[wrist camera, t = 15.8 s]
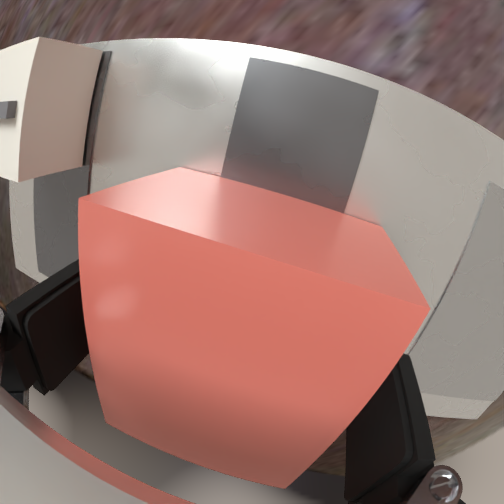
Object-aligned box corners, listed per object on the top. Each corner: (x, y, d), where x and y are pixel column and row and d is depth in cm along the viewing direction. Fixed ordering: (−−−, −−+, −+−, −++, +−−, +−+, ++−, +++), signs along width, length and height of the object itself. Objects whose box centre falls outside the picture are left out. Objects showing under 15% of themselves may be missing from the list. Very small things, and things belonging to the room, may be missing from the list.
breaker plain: (36, 156, 11) (-27, 172, 7) (52, 57, 9) (-12, 52, 5) (82, 166, 10) (9, 185, 7) (103, 50, 8) (30, 35, 5)
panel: (28, 260, 15) (12, 269, 14) (39, 57, 10) (20, 55, 9) (471, 405, 12) (477, 422, 11) (578, 211, 7) (595, 219, 6)
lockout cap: (159, 348, 13) (105, 422, 9) (179, 167, 10) (78, 198, 5) (300, 396, 13) (284, 488, 8) (382, 226, 9) (430, 308, 5)
